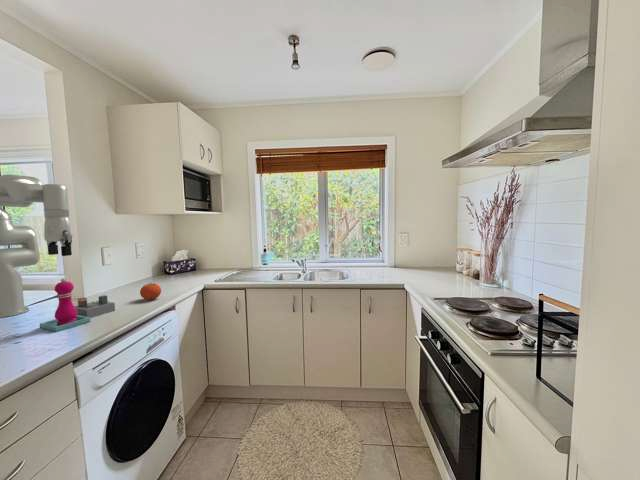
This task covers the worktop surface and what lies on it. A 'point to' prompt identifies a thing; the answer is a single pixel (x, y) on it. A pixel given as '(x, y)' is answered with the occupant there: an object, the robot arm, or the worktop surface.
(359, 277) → the worktop surface
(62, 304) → the pepper mill
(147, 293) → the tomato
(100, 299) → the block
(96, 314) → the breaker panel
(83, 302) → the tagged breaker
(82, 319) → the tray
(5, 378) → the worktop surface
